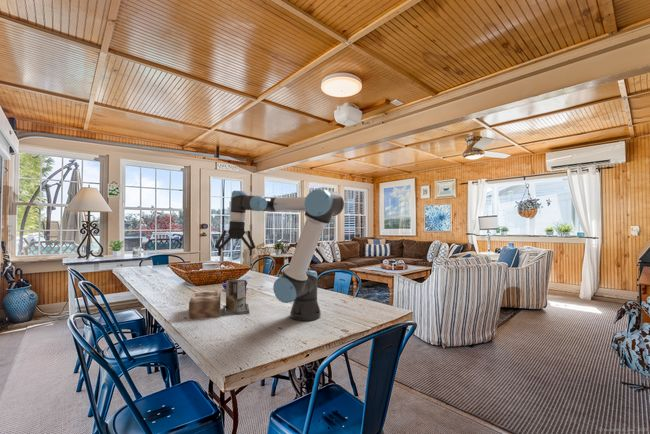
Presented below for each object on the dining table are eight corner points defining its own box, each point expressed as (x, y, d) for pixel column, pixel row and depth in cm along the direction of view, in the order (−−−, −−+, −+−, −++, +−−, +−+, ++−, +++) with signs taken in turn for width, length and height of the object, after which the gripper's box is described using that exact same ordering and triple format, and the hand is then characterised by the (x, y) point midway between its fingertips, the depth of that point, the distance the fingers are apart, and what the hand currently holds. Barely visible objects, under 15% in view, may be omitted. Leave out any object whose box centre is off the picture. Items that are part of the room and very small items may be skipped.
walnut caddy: (247, 305, 176) (247, 288, 176) (249, 314, 159) (249, 295, 159) (192, 309, 167) (193, 291, 168) (188, 319, 150) (189, 299, 150)
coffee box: (246, 310, 166) (246, 280, 166) (237, 313, 160) (237, 282, 161) (234, 308, 171) (235, 278, 171) (225, 310, 165) (225, 280, 165)
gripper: (259, 221, 170) (256, 260, 170) (210, 219, 158) (207, 261, 158) (263, 222, 163) (260, 263, 163) (212, 220, 151) (209, 263, 152)
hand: (234, 262), depth 161 cm, fingers open, 13 cm apart
